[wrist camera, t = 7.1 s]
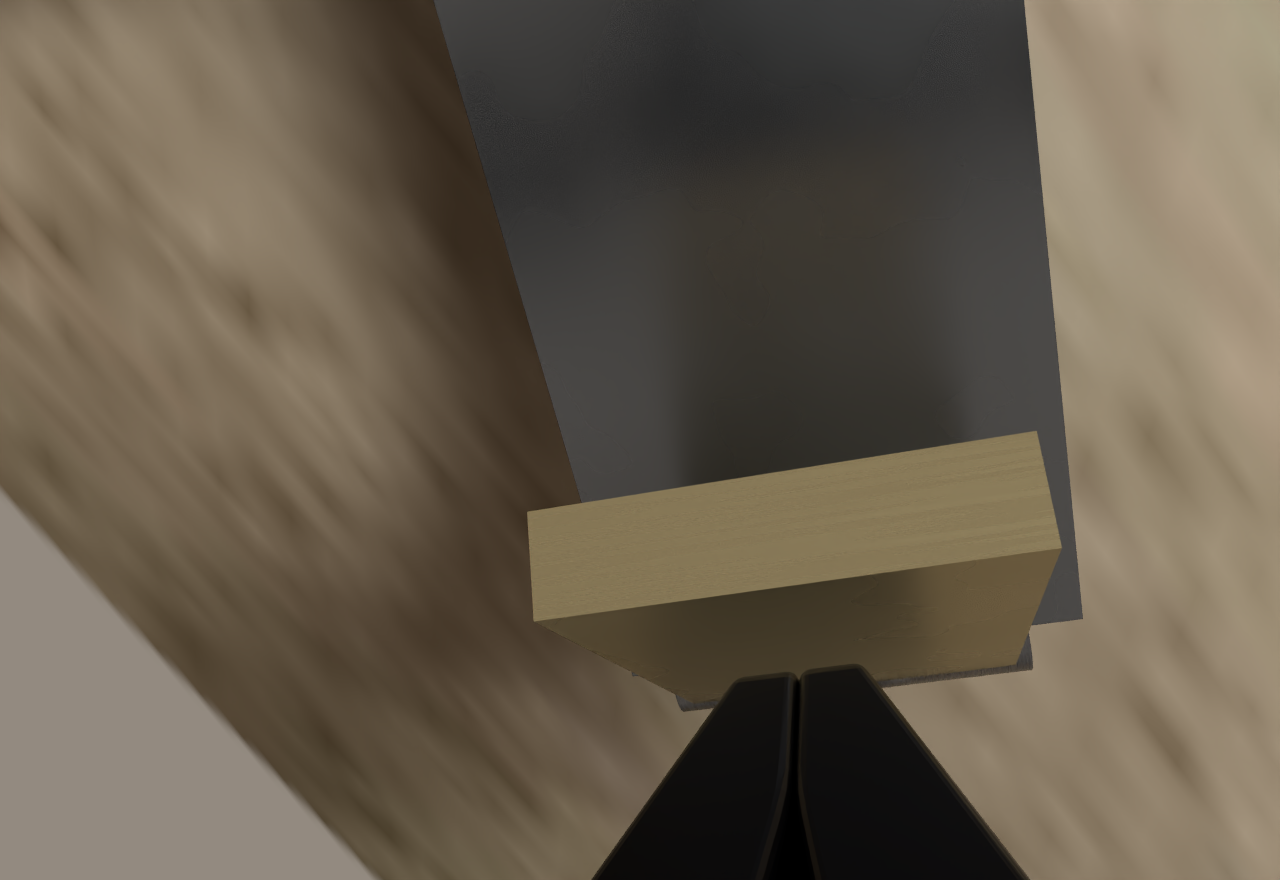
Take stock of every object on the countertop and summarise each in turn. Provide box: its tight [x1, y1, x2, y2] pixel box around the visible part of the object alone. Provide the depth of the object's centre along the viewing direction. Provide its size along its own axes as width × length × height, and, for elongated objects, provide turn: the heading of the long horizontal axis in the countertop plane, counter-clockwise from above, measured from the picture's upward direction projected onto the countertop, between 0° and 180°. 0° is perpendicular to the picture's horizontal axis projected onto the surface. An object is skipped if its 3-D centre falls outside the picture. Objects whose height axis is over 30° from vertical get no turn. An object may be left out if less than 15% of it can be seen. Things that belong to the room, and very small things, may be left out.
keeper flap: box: [527, 431, 1062, 712], centre depth 12 cm, size 7×4×1 cm
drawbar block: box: [434, 0, 1083, 676], centre depth 15 cm, size 16×6×6 cm, turn 13°
